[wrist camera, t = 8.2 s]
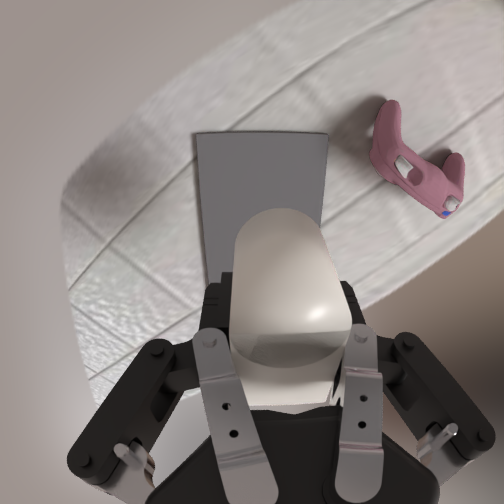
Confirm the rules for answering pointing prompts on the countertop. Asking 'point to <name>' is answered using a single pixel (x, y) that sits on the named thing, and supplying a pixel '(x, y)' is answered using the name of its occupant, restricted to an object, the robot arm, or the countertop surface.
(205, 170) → the rubber mat
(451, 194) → the video game controller
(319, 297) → the plug block
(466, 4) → the countertop surface
